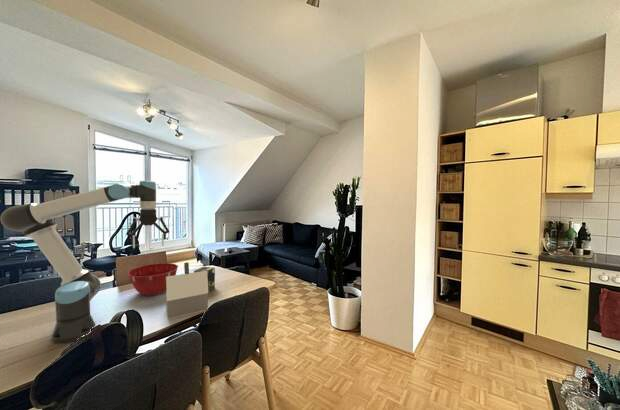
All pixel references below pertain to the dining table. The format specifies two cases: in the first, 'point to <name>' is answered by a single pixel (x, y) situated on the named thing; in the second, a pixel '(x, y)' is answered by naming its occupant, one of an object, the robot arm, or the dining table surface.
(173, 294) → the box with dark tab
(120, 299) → the dining table surface
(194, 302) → the open cabinet
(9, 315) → the dining table surface
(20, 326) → the dining table surface
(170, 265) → the mixing bowl
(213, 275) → the tampon box
